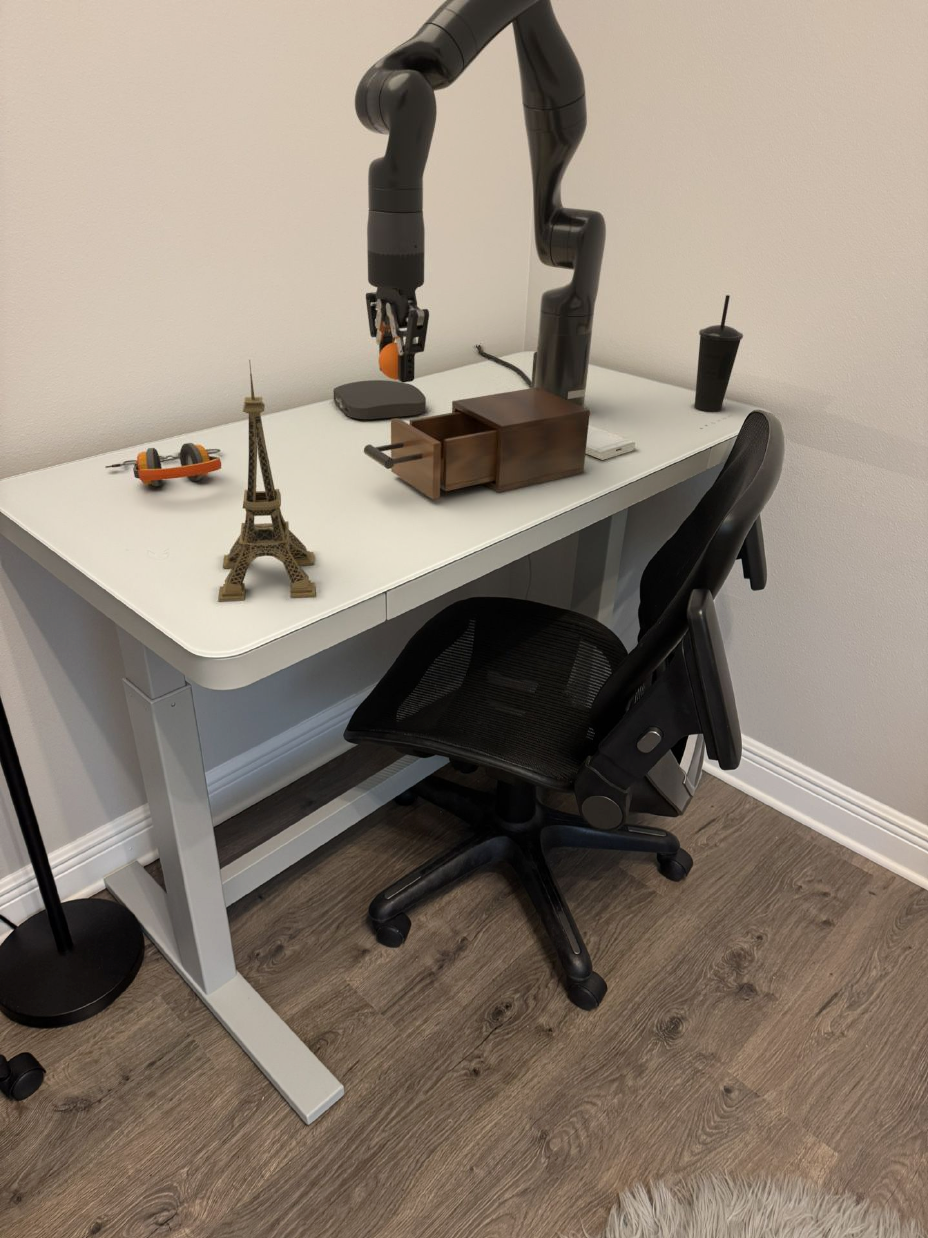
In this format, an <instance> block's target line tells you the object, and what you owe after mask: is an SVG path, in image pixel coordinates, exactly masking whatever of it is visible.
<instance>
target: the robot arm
mask: <svg viewBox="0 0 928 1238" xmlns="http://www.w3.org/2000/svg"><path fill="white" fill-rule="evenodd" d="M510 25H512V31H513V38H514V44H515V52H516V57H517V58H516V59H517V65H518V73H519V81H520V93H521V103H522V111H523V119H524V126H525V132H526V133H525V134H526V138H527V146H528V147H527V148H528V153H529V162H530V174H531V182H532V207H533V208H532V210H533V232H534V233H533V234H534V245H535V251H536V255H537V258H538V260H539V261H540V263H541V264H543V265H545V266H547V267H550V268H557V269H564V270H571V271H573V273H572V277H571V281H570V282H569V283H566V284H565V285H563V286H559V287H553V288H551V289H547V290H546V291H544V292H543V293H542V294H541V298H540V305H539V306H540V307H539V321H538V333H537V335H538V336H537V348H536V351H534V352H533V356H532V357H533V358H532V370H531V372H532V373H531V379H530V378H529V377H528V375H526V373H525V372H523V370H521V369H520V368H519V367H518V366H516V365H514V364H512V363H510V362H508V361H506V360H504V359H501V358H499V357H497V356H495V355H492V354H490V353H487V352H485V351H484V350H482V345H481V346H480V345H479V346H478V347H477V345H476V346H475V348H476V349H477V352H478V353H479V354H480V355H482V356H483V357H486V358H487V359H490V360H492V361H495V362H497V363H499V364H501V365H503V366H505V367H508V368H510V369H512V370H514V371H515V372H517V374H519V375H520V376H521V377H522V379H523V380H524V381H525V382H526V383H527V385H528V387H529V389H530V388H536V387H537V388H540V389H542V390H544V391H547V392H549V393H551V394H554V395H556V396H558V397H561V398H563V399H565V400H568V401H570V402H572V403H575V404H577V405H579V406H582V407H584V408H586V406H585V405H586V404H585V402H586V393H587V392H586V391H587V383H588V373H589V365H590V363H589V362H590V356H591V355H590V354H591V344H592V336H593V335H592V334H593V326H594V325H593V324H594V315H595V307H596V301H597V297H598V292H599V287H600V278H601V271H602V265H603V259H604V255H605V248H606V240H607V239H606V237H607V225H606V220H605V217H604V215H603V214H602V213H601V212H599V211H597V210H591V209H582V208H581V209H580V208H572V207H564V205H563V203H562V202H563V201H562V183H563V180H564V177H565V173H566V171H567V169H568V168H569V165H570V163H571V161H572V160H573V158H574V156H575V154H576V152H577V151H578V149H579V147H580V145H581V143H582V141H583V138H584V136H585V133H586V129H587V125H588V111H587V109H588V108H587V96H586V95H587V94H586V83H585V77H584V73H583V70H582V67H581V65H580V62H579V59H578V57H577V55H576V53H575V52H574V50H573V48H572V46H571V44H570V42H569V40H568V39H567V36H566V35H565V33H564V31H563V29H562V27H561V25H560V23H559V21H558V19H557V17H556V14H555V11H554V8H553V5H552V0H445V1H444V2H442V3H441V4H440V5H439V6H438V8H436V10H435V11H434V12H433V13H432V14H431V15H430V16H429V18H428V19H427V20H426V21H425V22H424V23H423V24H422V25H421V27H420V28H418V30H417V31H416V32H415V34H414V35H413V36H411V37H410V38H409V39H407V40H405V41H404V42H402V43H401V44H399V45H398V46H396V47H395V48H394V49H393V50H391V51H390V52H388V53H386V54H385V55H384V56H382V57H381V58H380V59H378V60H377V61H376V62H375V63H373V64H372V65H371V66H370V67H369V68H368V69H367V70H366V71H365V73H364V75H363V76H362V77H361V79H360V81H359V82H358V85H357V88H356V91H355V94H354V109H355V115H356V117H357V119H358V120H359V123H360V124H361V125H362V126H363V127H364V128H365V129H367V130H368V131H370V132H372V133H374V134H377V135H386V136H388V140H387V145H386V148H385V153H384V154H383V156H380V157H377V158H375V159H373V160H372V161H370V164H369V166H368V170H367V171H368V173H367V190H368V191H367V199H368V200H367V201H368V204H367V206H368V207H367V208H368V215H367V224H366V243H367V244H366V245H367V246H366V247H367V249H366V250H367V251H366V253H367V281H368V284H369V285H370V286H372V287H375V288H376V291H370V292H366V293H365V303H366V311H367V318H368V320H367V321H368V327H369V335H370V337H371V338H375V341H376V342H375V343H376V344H377V346H378V348H379V349H378V354H379V355H380V352H381V351H382V349H383V348H384V347H385V346H386V345H388V344H390V343H395V342H397V347H398V353H399V355H398V380H397V381H398V382H401V383H411V382H414V381H415V364H416V363H415V361H416V359H415V358H416V357H415V356H416V355H417V354H419V353H423V352H425V348H426V340H427V334H428V325H429V321H430V320H429V319H430V311H429V309H427V308H420V307H419V306H418V300H417V293H416V291H417V290H418V288H420V287H422V286H423V285H424V283H425V243H426V242H425V238H426V236H425V235H426V230H425V220H424V174H425V170H426V166H427V163H428V159H429V155H430V150H431V145H432V142H433V137H434V133H435V130H436V129H435V128H436V124H437V116H438V110H437V109H438V108H437V107H438V106H437V98H436V93H435V92H436V91H441V90H444V89H448V88H449V87H450V86H452V85H453V84H454V83H455V82H456V81H457V80H458V79H460V77H461V76H462V75H463V73H464V72H465V71H466V70H467V69H468V68H469V67H470V66H471V65H472V63H473V62H474V61H475V60H476V59H477V58H478V57H479V56H480V54H481V53H482V52H483V51H484V50H485V49H486V48H487V47H488V46H489V44H490V43H491V42H492V41H494V40H495V38H497V36H498V35H499V34H501V33H502V32H503V31H504V30H505V29H506V28H507V27H508V26H510ZM401 329H406V330H401ZM404 338H405V341H404ZM404 345H405V346H404ZM379 355H378V356H379ZM378 367H379V366H378ZM379 371H380V372H382V371H381V369H380V367H379Z"/></svg>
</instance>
